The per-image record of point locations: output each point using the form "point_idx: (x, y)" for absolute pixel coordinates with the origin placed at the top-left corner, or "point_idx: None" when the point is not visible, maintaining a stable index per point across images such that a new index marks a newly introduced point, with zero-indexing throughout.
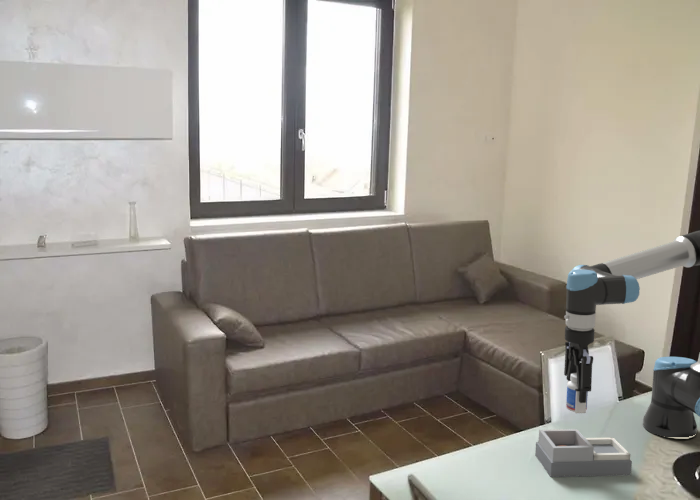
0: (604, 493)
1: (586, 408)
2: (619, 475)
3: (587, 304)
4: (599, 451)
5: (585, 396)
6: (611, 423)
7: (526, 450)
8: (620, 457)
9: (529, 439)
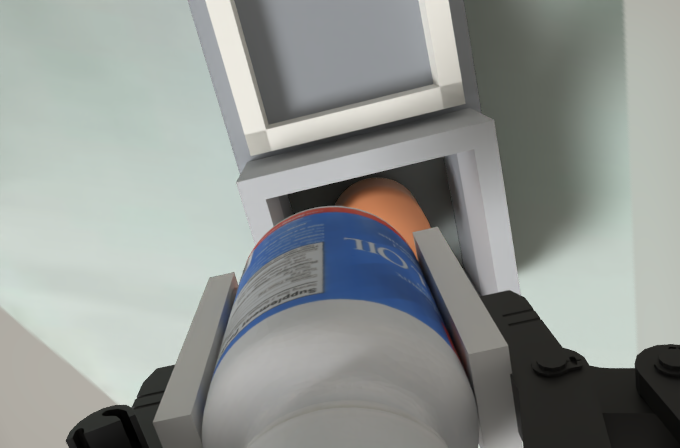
0: (617, 70)
1: (375, 218)
2: None
3: None
4: (339, 44)
5: (548, 335)
6: None
7: None
8: None
9: (136, 341)
